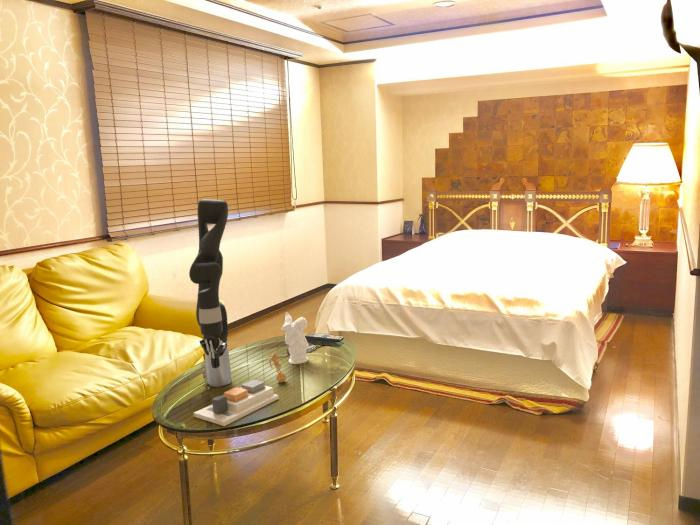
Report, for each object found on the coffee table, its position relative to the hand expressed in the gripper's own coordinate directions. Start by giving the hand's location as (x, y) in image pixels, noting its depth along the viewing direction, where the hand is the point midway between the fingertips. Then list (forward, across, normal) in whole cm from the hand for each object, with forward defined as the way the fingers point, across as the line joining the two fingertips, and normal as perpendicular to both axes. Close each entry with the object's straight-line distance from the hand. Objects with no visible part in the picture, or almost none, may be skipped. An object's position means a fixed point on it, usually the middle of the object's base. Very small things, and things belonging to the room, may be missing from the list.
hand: (215, 367), depth 201 cm
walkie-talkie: (+18, +22, -68) cm, 74 cm away
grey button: (+14, -2, -14) cm, 20 cm away
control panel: (+17, -2, -6) cm, 18 cm away
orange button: (+14, -2, -6) cm, 15 cm away
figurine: (+17, +3, -32) cm, 36 cm away
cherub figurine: (+17, +14, -53) cm, 57 cm away
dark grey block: (+15, -3, +2) cm, 15 cm away
